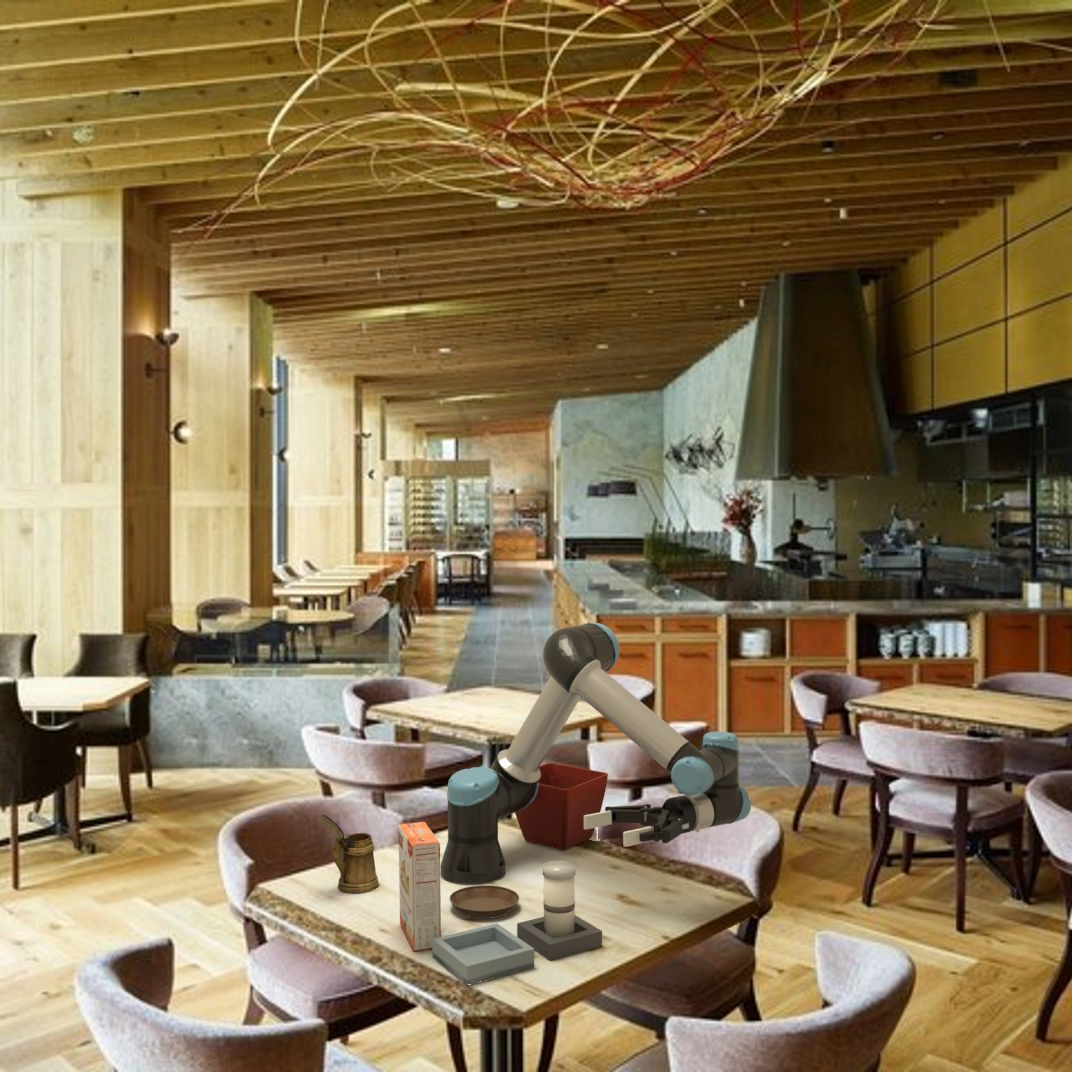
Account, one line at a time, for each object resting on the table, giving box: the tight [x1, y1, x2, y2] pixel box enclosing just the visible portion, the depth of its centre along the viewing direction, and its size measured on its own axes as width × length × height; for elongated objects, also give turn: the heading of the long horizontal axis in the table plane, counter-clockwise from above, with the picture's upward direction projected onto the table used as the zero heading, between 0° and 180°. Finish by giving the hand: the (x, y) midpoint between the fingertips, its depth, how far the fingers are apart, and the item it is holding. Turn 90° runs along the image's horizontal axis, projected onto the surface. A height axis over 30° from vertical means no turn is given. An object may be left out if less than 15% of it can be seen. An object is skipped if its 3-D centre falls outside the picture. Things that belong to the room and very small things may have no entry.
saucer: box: [449, 884, 520, 919], centre depth 220 cm, size 15×15×3 cm
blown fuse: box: [542, 860, 577, 939], centre depth 202 cm, size 6×6×15 cm
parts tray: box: [431, 923, 535, 986], centre depth 193 cm, size 14×14×4 cm
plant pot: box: [514, 762, 609, 851], centre depth 265 cm, size 19×19×17 cm
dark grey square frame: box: [516, 914, 603, 961], centre depth 202 cm, size 12×12×3 cm
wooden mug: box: [321, 814, 380, 894], centre depth 231 cm, size 9×14×18 cm, turn 132°
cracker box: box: [397, 821, 442, 952], centre depth 205 cm, size 14×6×21 cm, turn 18°
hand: (603, 830), depth 206 cm, fingers open, 13 cm apart
